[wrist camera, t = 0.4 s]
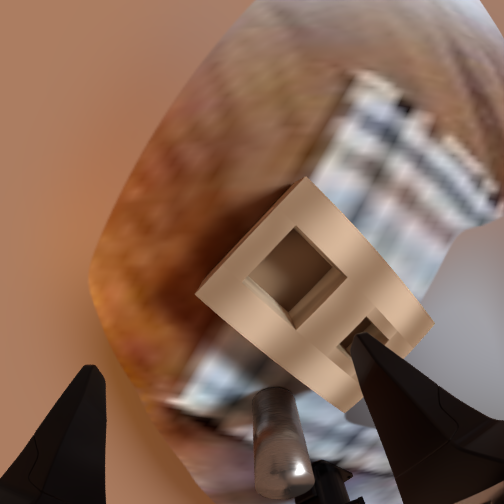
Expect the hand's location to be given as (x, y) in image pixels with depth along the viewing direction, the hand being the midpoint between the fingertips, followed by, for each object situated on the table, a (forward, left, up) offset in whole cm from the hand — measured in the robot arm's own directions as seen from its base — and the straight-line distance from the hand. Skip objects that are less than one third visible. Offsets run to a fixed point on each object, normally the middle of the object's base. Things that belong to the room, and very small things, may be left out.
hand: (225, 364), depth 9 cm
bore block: (-6, -3, -14) cm, 15 cm away
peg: (-11, +7, -14) cm, 19 cm away
